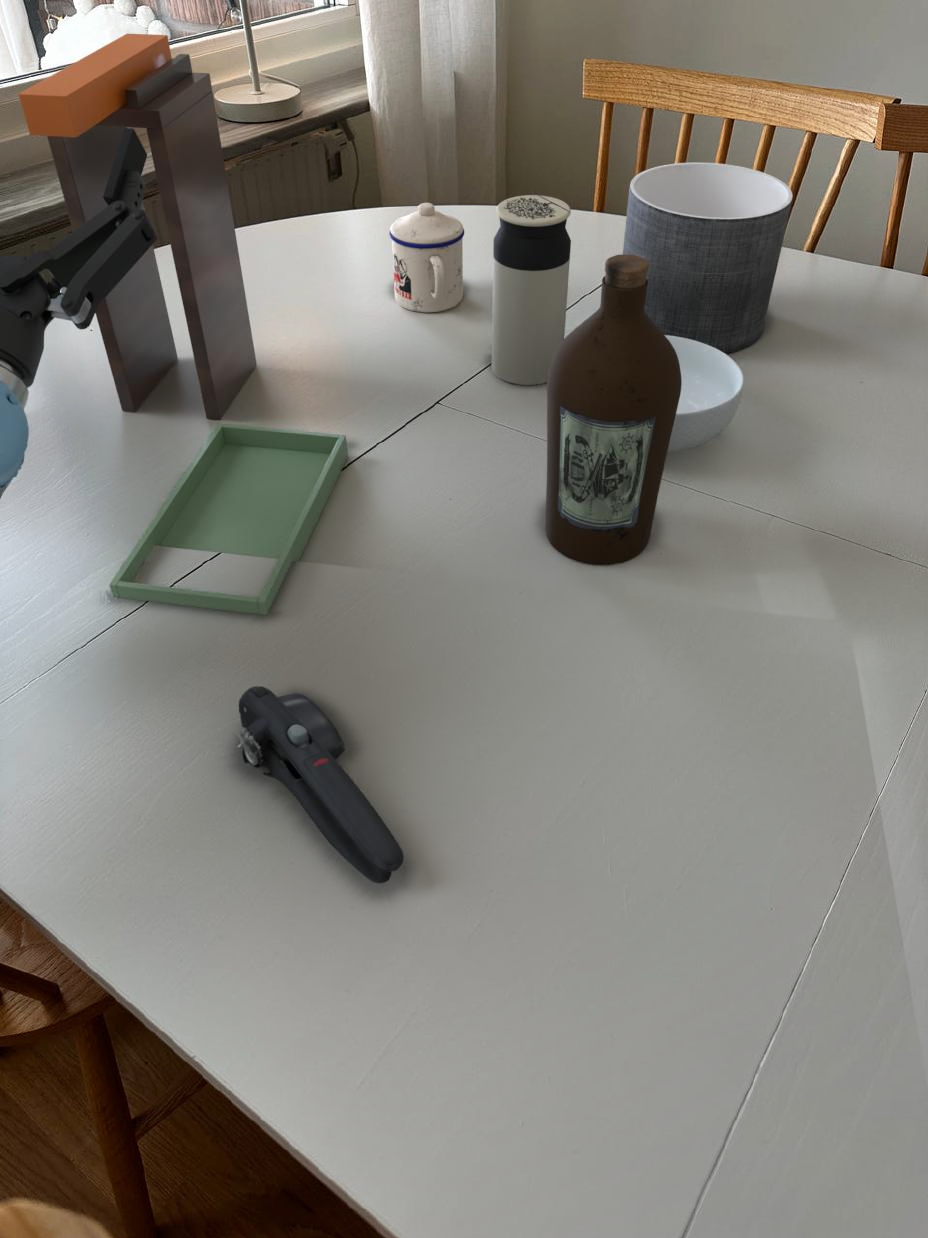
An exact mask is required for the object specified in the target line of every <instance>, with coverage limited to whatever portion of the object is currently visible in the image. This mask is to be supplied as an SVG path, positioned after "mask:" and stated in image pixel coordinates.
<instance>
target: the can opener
mask: <svg viewBox="0 0 928 1238" xmlns="http://www.w3.org/2000/svg"><path fill="white" fill-rule="evenodd" d="M238 713H239V715H240V716H239V717H240V723H241V730H242V733H239V732H238V731H236V732H235V735H236V738H237V740H238V745H237V748H238V749H239V748H242V750H241V751H242V755H241V756H242V760H243V762H244V763H245V764H249V765H251V766H252V767H254V768H257V769H258V768H259V767H261V766H265V767H266V769H267V770H268V771H269V772H265V771H264V772H263V775H264V776H266V777H269V778H274V779H276V780H278V781H279V782H280V783H281V784H282V785H284V786H285V787H286V788H287V789H288V790H289V791H290V792H291V793H292V795H293V796H294V798H296V799H297V801H298V802H299V804H300V805H301V806H302V808H303V809H304V811H305V812H306V814H307V815H308V816H309V818H310V819H311V821H312V822H313V823H314V825H315V826H316V827H317V829H318V830H319V831H320V833H321V834H322V835H323V837H324V838H325V839H326V840H327V842H328V843H329V844H330V846H332V847H333V848H334V849H335V850H336V851H337V852H338V853H339V854H340V856H342V858H344V859H345V860H346V861H347V862H348V863H349V864H350V865H351V866H352V867H353V868H354V869H356V870H357V871H358V872H359V873H360V874H362V875H363V876H364V877H365V878H367V880H369V881H370V882H372V883H375V884H384V883H386V882H388V881H389V880H390V879H391V876H392V872H395V871H398V869H400V868H401V866H402V865H403V863H404V852H403V850H402V848H401V846H400V844H399V842H398V841H397V839H396V838H395V836H394V835H393V834H392V832H391V830H390V829H389V828H388V825H387V824H386V823H385V822H384V820H383V819H382V817H381V816H380V814H379V813H378V812H377V809H375V808H374V806H373V805H372V804H371V802H370V800H368V798H367V797H366V795H365V794H364V793H363V791H362V790H361V789H360V788H359V786H358V785H357V784H356V782H355V781H354V780H353V778H351V776H350V775H349V774H348V773H347V772H346V770H345V769H344V768H343V767H342V765H341V764H340V763H339V762H338V761H337V759H339V757H340V756H341V755H342V754H343V753H344V752H345V749H346V748H345V744H344V742H343V740H342V737H341V735H340V733H339V731H338V729H337V728H336V726H335V724H334V723H333V722H332V720H331V719H330V718H329V717H328V715H327V714H326V713H325V711H323V710H322V709H321V708H320V707H319V706H318V704H316V703H315V702H314V701H313V700H312V699H310V698H309V697H307V696H306V695H304V694H301V693H298V692H296V693H291V694H287V695H281V696H277V695H276V694H275V693H274V692H273V691H271V690H270V689H269V688H266V687H265V686H260V685H259V686H258V685H257V686H256V685H255V686H252V687H249V688H248V689H246V690H245V692H243V694H242V695H241V696H240V697H239V700H238Z"/></svg>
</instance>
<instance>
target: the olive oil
mask: <svg viewBox="0 0 928 1238" xmlns="http://www.w3.org/2000/svg"><path fill="white" fill-rule="evenodd" d="M648 268H649V263H648V262H647V261H646V260H645V259H643V258H641V257H639V256H635V255H628V254H623V253H622V254H616V255H612V256H610V257H608V258H607V259H606V260H605V263H604V273H605V275H604V276H603V277H602V279H601V291H600V305H599V307H598V309H597V310H596V311H595V312H593V313H592V314H591V315H590V316H589V317H588V318H587V319H585V320H584V321H582V322H581V323H580V324H579V325H578V326H576V327H575V328H574V329H573V330H571V332H569V333H568V335H566V336H564V340H563V341H562V342H561V344H560V345H559V347H558V348H557V350H556V352H555V355H554V357H553V360H552V362H551V365H550V368H549V372H548V379H547V382H546V493H545V495H546V496H545V523H544V524H545V525H544V526H545V528H544V529H545V530H544V531H545V535H546V538H547V541H548V543H549V544H550V545H551V547H552V548H553V549H555V551H556V552H558V553H559V554H561V555H562V556H564V557H565V558H568V559H570V560H572V561H574V562H578V563H581V564H585V563H586V565H591V564H592V566H613V565H619V564H622V563H625V561H626V562H628V561H631V560H633V559H635V558H636V557H638V556H639V555H641V554H642V553H643V552H644V551H645V549H646V548H647V546H648V545H649V542H650V538H651V534H652V528H653V524H654V519H655V518H654V517H655V513H656V508H657V504H658V503H657V502H658V498H659V493H660V487H661V483H662V478H663V473H664V469H665V465H666V460H667V455H668V452H667V451H668V447H669V442H670V438H671V433H672V429H673V425H674V420H675V416H676V412H677V407H678V403H679V399H680V394H681V385H682V379H681V370H680V364H679V360H678V356H677V354H676V351H675V349H674V348H673V346H672V344H671V343H670V342H669V340H668V339H667V338H666V336H665V335H664V334H663V333H662V332H661V331H660V329H659V328H658V327H657V326H656V325H655V324H654V323H653V321H652V320H651V319H650V318H649V317H648V315H647V314H646V312H645V310H644V307H645V301H646V295H647V287H648V280H647V279H646V275H647V274H648ZM618 563H619V564H618Z"/></svg>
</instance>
